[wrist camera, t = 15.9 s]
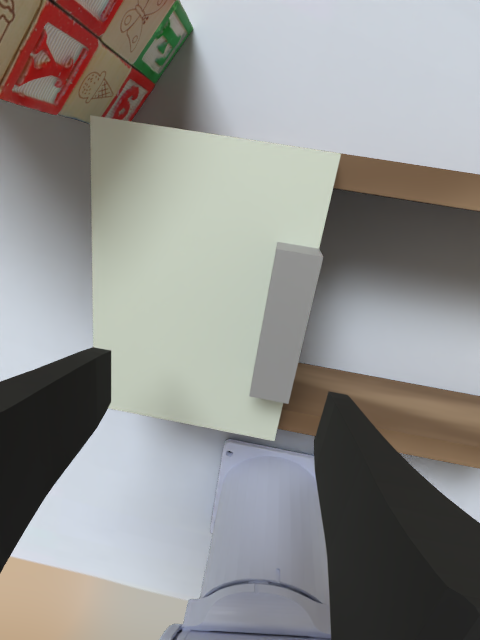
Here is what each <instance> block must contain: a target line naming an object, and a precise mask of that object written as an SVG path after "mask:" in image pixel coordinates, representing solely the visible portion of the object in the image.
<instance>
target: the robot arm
mask: <svg viewBox="0 0 480 640" xmlns="http://www.w3.org/2000/svg"><path fill="white" fill-rule="evenodd" d="M110 403H111V350H105V349H100V348H95V347H93V348H90V349H86V350H84V351H81V352H78V353H75V354H73V355H70V356H68V357H65V358H63V359H60V360H58V361H55V362H53V363H50V364H47V365H45V366H42V367H40V368H37V369H35V370H32V371H29V372H26V373H23V374H21V375H18V376H15V377H12V378H9V379H7V380H4V381H1V382H0V573H1V571H2V569H3V567H4V565H5V564H6V562H7V560H8V558H9V557H10V555H11V553H12V552H13V550H14V548H15V546H16V545H17V543H18V541H19V540H20V538H21V536H22V534H23V533H24V531H25V529H26V528H27V526H28V524H29V523H30V521H31V519H32V518H33V516H34V515H35V513H36V511H37V510H38V508H39V506H40V505H41V503H42V502H43V500H44V498H45V497H46V495H47V494H48V493H49V491H50V490H51V488H52V487H53V485H54V484H55V483H56V481H57V480H58V479H59V477H60V476H61V475H62V473H63V472H64V471H65V469H66V468H67V467H68V466H69V464H70V463H71V462H72V460H73V459H74V458H75V456H76V455H77V454H78V452H79V451H80V450H81V448H82V447H83V446H84V444H85V443H86V442H87V440H88V439H89V438H90V436H91V435H92V434H93V432H94V431H95V429H96V428H97V427H98V425H99V423H100V421H101V420H102V418H103V416H104V414H105V413H106V411H107V409H108V407H109V405H110ZM227 451H231V452H232V453H229V452H227ZM210 532H211V534H212V539H211V544H210V549H209V554H208V559H207V564H206V569H205V574H204V579H203V584H202V589H201V593H200V598H199V599H190V600H188V604H187V609H186V613H185V617H184V622H183V624H172V625H171V626H169V627H168V628H167V629H166V630H165V631H164V633H163V635H162V636H161V638H160V639H159V640H480V523H479V522H477V521H476V520H475V519H473V518H472V517H471V516H470V515H468V514H467V513H466V512H464V511H463V510H462V509H461V508H459V507H458V506H457V505H455V504H454V503H453V502H452V501H450V500H449V499H448V498H447V497H446V496H444V495H443V494H442V493H441V492H440V491H438V490H437V489H436V488H435V487H434V486H433V485H432V484H431V483H429V482H428V481H427V480H426V479H425V478H424V477H423V476H422V475H420V474H419V473H418V472H417V471H416V470H415V469H414V468H413V467H412V466H411V465H410V464H409V463H408V462H407V461H406V460H405V459H404V458H403V457H402V456H401V455H400V454H399V453H398V452H397V451H396V450H395V449H394V448H393V447H392V445H391V444H390V443H389V442H388V441H387V440H386V439H385V438H384V437H383V436H382V434H381V433H380V432H379V431H378V430H377V429H376V428H375V426H374V425H373V424H372V423H371V422H370V420H369V419H368V418H367V417H366V416H365V415H364V413H363V412H362V411H361V410H360V408H359V407H358V406H357V405H356V404H355V403H354V401H353V400H352V399H351V398H350V397H349V396H348V395H346V394H341V393H335V392H330V391H328V395H327V398H326V402H325V405H324V409H323V412H322V416H321V419H320V422H319V426H318V429H317V433H316V436H315V440H314V456H312V455H307V454H302V453H297V452H292V451H287V450H282V449H277V448H272V447H267V446H262V445H257V444H252V443H247V442H242V441H237V440H232V439H229V440H226V441H225V443H224V446H223V452H222V458H221V464H220V470H219V477H218V483H217V489H216V495H215V501H214V507H213V513H212V519H211V525H210Z"/></svg>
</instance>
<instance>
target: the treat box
mask: <svg viewBox="0 0 480 640" xmlns="http://www.w3.org/2000/svg"><path fill="white" fill-rule="evenodd" d="M124 121H125V120H124ZM170 128H171V127H170ZM183 130H184V129H183ZM196 132H197V131H196ZM242 139H243V138H242ZM255 141H256V140H255ZM268 143H269V142H268ZM314 150H315V149H314ZM327 152H328V151H327ZM340 154H341V153H340ZM333 189H339V190H345V191H352V192H358V193H364V194H371V195H377V196H383V197H390V198H396V199H402V200H408V201H415V202H421V203H427V204H434V205H440V206H446V207H453V208H459V209H465V210H472V211H478V212H480V175H478V174H472V173H465V172H459V171H452V170H446V169H439V168H432V167H426V166H419V165H413V164H406V163H400V162H393V161H387V160H380V159H374V158H367V157H360V156H354V155H347V154H341V156H340V161H339V165H338V169H337V174H336V178H335V182H334V186H333ZM328 391H330V392H335V393H341V394H346V395H348V396H349V397H350V398H351V399H352V400H353V401H354V403H355V404H356V405H357V406H358V407H359V408H360V410H361V411H362V412H363V413H364V415H365V416H366V417H367V418H368V419H369V420H370V422H371V423H372V424H373V425H374V426H375V428H376V429H377V430H378V431H379V432H380V433H381V434H382V436H383V437H384V438H385V439H386V440H387V441H388V442H389V443H390V444H391V445H392V447H393V448H394V449H395V450H396V451H397V452H399V453H404V454H409V455H414V456H419V457H424V458H429V459H434V460H439V461H444V462H449V463H454V464H459V465H465V466H470V467H475V468H480V396H475V395H470V394H465V393H459V392H454V391H449V390H443V389H438V388H432V387H427V386H422V385H416V384H411V383H406V382H400V381H395V380H389V379H384V378H379V377H373V376H368V375H362V374H357V373H352V372H346V371H341V370H336V369H330V368H325V367H319V366H314V365H309V364H303V363H298V366H297V370H296V374H295V378H294V383H293V387H292V391H291V395H290V399H289V403H288V404H286V403H283V406H282V411H281V415H280V419H279V424H278V428H277V429H282V430H287V431H292V432H297V433H302V434H307V435H312V436H316V433H317V429H318V426H319V422H320V419H321V416H322V412H323V409H324V405H325V402H326V398H327V395H328Z"/></svg>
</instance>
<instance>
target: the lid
mask: <svg viewBox="0 0 480 640" xmlns="http://www.w3.org/2000/svg"><path fill="white" fill-rule="evenodd" d="M90 147H91V221H92V295H93V347H95V348H100V349H105V350H111V403H110V405H109V407H108V408H109V409H115V410H120V411H125V412H130V413H135V414H140V415H145V416H150V417H155V418H160V419H165V420H170V421H175V422H180V423H185V424H190V425H195V426H200V427H205V428H210V429H215V430H220V431H225V432H230V433H235V434H240V435H245V436H250V437H255V438H260V439H265V440H270V441H275V437H276V432H277V428H278V424H279V419H280V415H281V411H282V406H283V403H286V404H288V403H289V399H290V395H291V391H292V387H293V383H294V378H295V374H296V370H297V366H298V362H299V357H300V353H301V349H302V345H303V341H304V336H305V332H306V328H307V324H308V320H309V315H310V311H311V307H312V303H313V299H314V295H315V290H316V286H317V282H318V278H319V274H320V269H321V265H322V261H323V255H322V253H321V251H320V250H319V247H320V243H321V238H322V234H323V230H324V225H325V221H326V217H327V212H328V208H329V204H330V199H331V195H332V191H333V186H334V182H335V178H336V174H337V169H338V165H339V161H340V156H341V154H340V153H334V152H327V151H321V150H314V149H308V148H301V147H295V146H288V145H282V144H275V143H268V142H262V141H255V140H249V139H242V138H236V137H229V136H223V135H216V134H210V133H203V132H196V131H190V130H183V129H177V128H170V127H164V126H157V125H151V124H144V123H138V122H131V121H124V120H118V119H111V118H105V117H98V116H92V115H90Z"/></svg>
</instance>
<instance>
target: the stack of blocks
mask: <svg viewBox="0 0 480 640" xmlns="http://www.w3.org/2000/svg"><path fill="white" fill-rule="evenodd" d="M192 30H193V27H192V24H191V23H190V21H189V19H188V16H187V14H186V12H185V10H184V9H183V7H182V5H181V3H180V0H0V99H2V100H5V101H8V102H11V103H14V104H17V105H20V106H24V107H28V108H31V109H34V110H38V111H41V112H46V113H49V114H52V115H57V114H58V115H61V116H64V117H68V118H72V119H76V120H79V121H82V122H85V123H88V124H90V115H92V116H98V117H105V118H111V119H118V120H125V121H132V119H133V118H134V116H135V115H136V113H137V112H138V110H139V109H140V107H141V106H142V104H143V103H144V101H145V100H146V98H147V97H148V96H149V94H150V93H151V91H152V90H153V88H154V86H155V83H156V82H157V80H158V79H159V78H160V76H161V75H162V73H163V72H164V70H165V69H166V67H167V66H168V65H169V63H170V62H171V60H172V59H173V57H174V56H175V54H176V53H177V52H178V50H179V49H180V47H181V46H182V44H183V43H184V41H185V40H186V38H187V37H188V36H189V34H190V33H191V32H192Z"/></svg>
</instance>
